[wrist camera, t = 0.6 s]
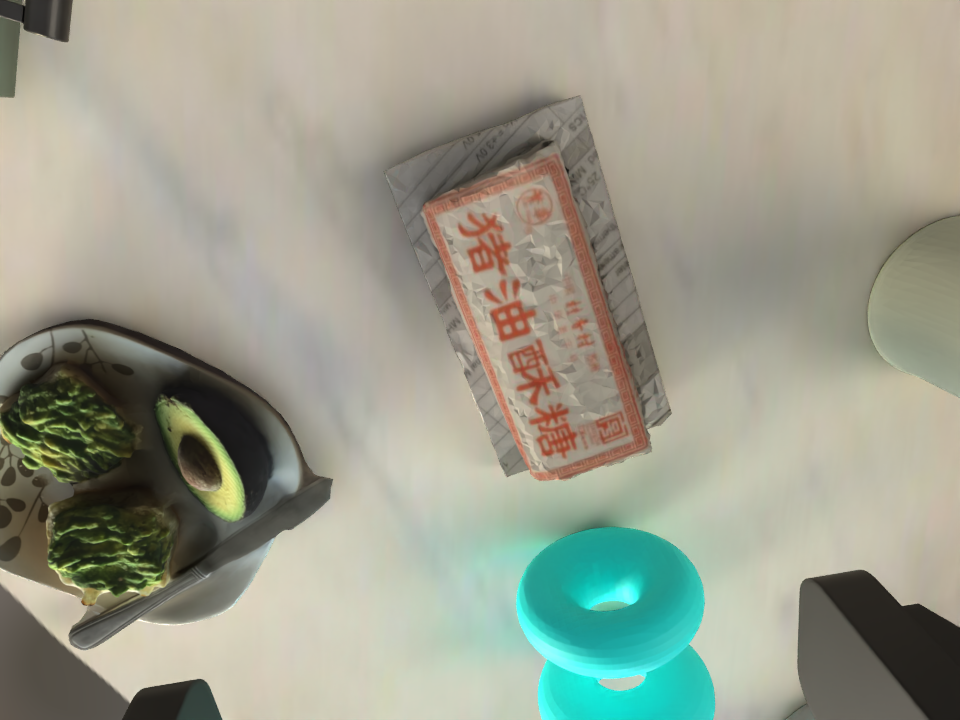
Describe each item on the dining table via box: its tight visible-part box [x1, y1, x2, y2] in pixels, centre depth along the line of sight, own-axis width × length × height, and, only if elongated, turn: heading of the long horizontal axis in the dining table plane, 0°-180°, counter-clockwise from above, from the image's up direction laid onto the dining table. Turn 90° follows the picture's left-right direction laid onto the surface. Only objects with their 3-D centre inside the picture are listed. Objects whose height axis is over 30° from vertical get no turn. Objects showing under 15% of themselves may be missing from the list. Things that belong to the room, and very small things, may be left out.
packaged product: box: [383, 95, 672, 481], centre depth 33 cm, size 18×5×10 cm
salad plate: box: [0, 319, 333, 650], centre depth 36 cm, size 19×18×5 cm
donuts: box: [516, 527, 715, 720], centre depth 38 cm, size 10×10×10 cm
